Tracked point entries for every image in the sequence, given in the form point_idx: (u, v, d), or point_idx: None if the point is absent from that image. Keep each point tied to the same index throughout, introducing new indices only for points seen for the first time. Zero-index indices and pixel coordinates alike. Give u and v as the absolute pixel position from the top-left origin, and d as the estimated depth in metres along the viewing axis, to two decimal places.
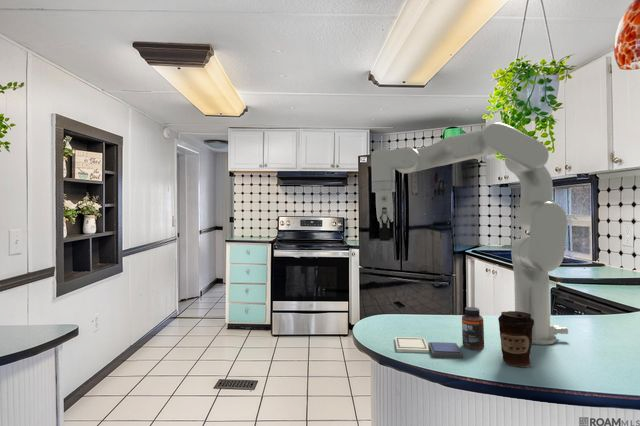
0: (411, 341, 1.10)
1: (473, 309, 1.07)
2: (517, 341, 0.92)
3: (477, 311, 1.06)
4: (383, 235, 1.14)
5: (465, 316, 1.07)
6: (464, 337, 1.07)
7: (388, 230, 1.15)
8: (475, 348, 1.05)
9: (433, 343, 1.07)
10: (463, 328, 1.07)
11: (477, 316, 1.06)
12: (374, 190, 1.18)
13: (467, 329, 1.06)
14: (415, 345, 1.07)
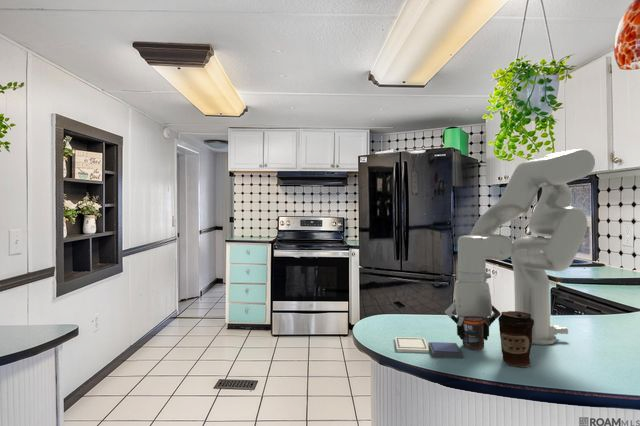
0: (411, 341, 1.10)
1: None
2: (517, 341, 0.92)
3: None
4: None
5: None
6: (464, 337, 1.07)
7: None
8: (475, 348, 1.05)
9: (433, 343, 1.07)
10: None
11: None
12: (483, 282, 1.04)
13: (467, 329, 1.06)
14: (415, 345, 1.07)
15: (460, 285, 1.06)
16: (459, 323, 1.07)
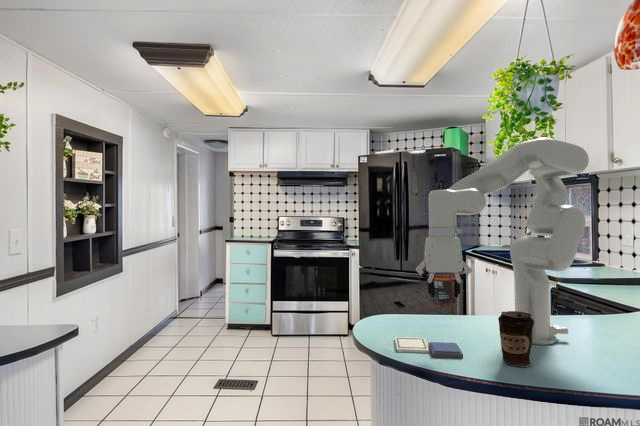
0: (411, 341, 1.10)
1: None
2: (517, 341, 0.92)
3: None
4: None
5: (435, 273, 1.03)
6: (434, 294, 1.03)
7: None
8: (445, 305, 1.01)
9: (433, 343, 1.07)
10: None
11: None
12: (453, 237, 1.01)
13: (437, 285, 1.02)
14: (415, 345, 1.07)
15: (430, 240, 1.02)
16: (429, 280, 1.03)
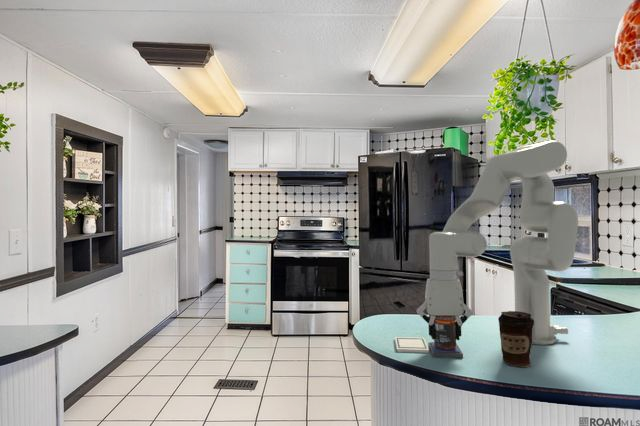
0: (411, 341, 1.10)
1: None
2: (517, 341, 0.92)
3: None
4: None
5: None
6: (435, 337, 1.03)
7: None
8: (446, 348, 1.01)
9: (433, 343, 1.07)
10: None
11: None
12: (454, 280, 1.01)
13: (438, 328, 1.02)
14: (415, 345, 1.07)
15: (431, 283, 1.02)
16: (430, 322, 1.03)
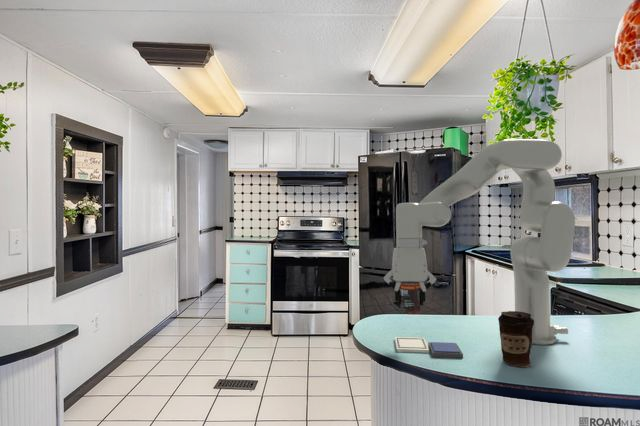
0: (411, 341, 1.10)
1: None
2: (517, 341, 0.92)
3: None
4: None
5: None
6: (401, 302, 1.08)
7: None
8: (410, 312, 1.06)
9: (433, 343, 1.07)
10: (400, 293, 1.09)
11: None
12: (418, 248, 1.06)
13: (403, 294, 1.07)
14: (415, 345, 1.07)
15: (397, 251, 1.08)
16: (396, 288, 1.08)
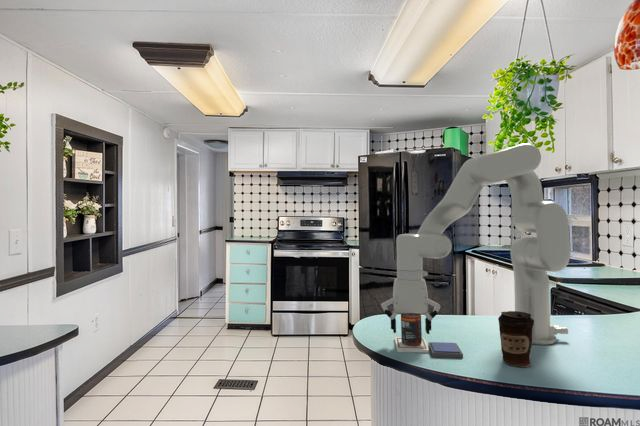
0: None
1: None
2: (517, 341, 0.92)
3: None
4: None
5: None
6: (402, 334, 1.08)
7: None
8: (412, 344, 1.06)
9: (433, 343, 1.07)
10: (401, 325, 1.09)
11: None
12: (418, 280, 1.06)
13: (404, 325, 1.07)
14: None
15: (397, 283, 1.08)
16: (392, 317, 1.09)
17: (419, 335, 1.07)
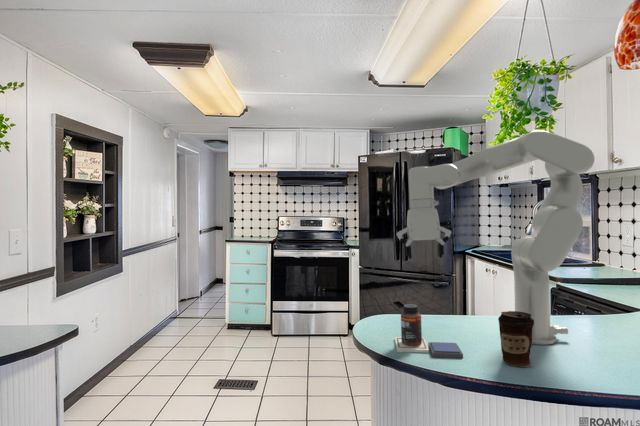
0: None
1: (411, 306, 1.08)
2: (517, 341, 0.92)
3: (414, 308, 1.07)
4: None
5: (403, 313, 1.08)
6: (402, 334, 1.08)
7: None
8: (412, 344, 1.06)
9: (433, 343, 1.07)
10: (401, 325, 1.09)
11: (414, 313, 1.07)
12: (431, 207, 1.15)
13: (404, 325, 1.07)
14: None
15: (411, 211, 1.17)
16: (407, 244, 1.17)
17: (419, 335, 1.07)
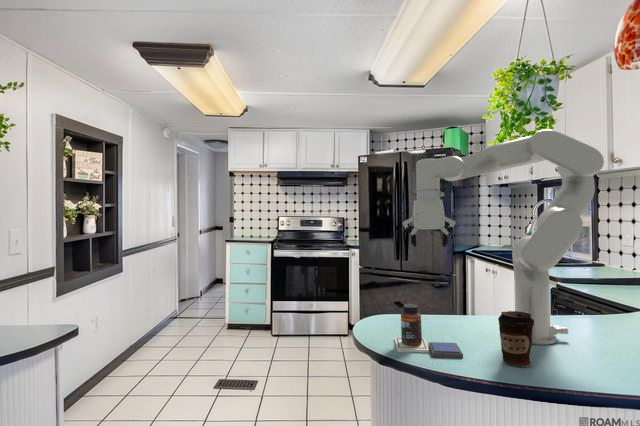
0: None
1: (411, 306, 1.08)
2: (517, 341, 0.92)
3: (414, 308, 1.07)
4: None
5: (403, 313, 1.08)
6: (402, 334, 1.08)
7: None
8: (412, 344, 1.06)
9: (433, 343, 1.07)
10: (401, 325, 1.09)
11: (414, 313, 1.07)
12: (436, 198, 1.19)
13: (404, 325, 1.07)
14: None
15: (417, 201, 1.21)
16: (412, 233, 1.22)
17: (419, 335, 1.07)
